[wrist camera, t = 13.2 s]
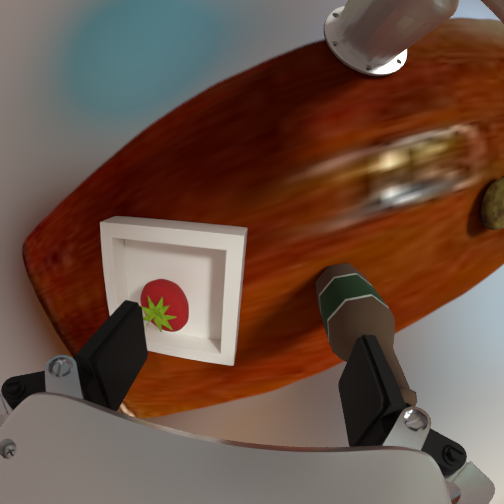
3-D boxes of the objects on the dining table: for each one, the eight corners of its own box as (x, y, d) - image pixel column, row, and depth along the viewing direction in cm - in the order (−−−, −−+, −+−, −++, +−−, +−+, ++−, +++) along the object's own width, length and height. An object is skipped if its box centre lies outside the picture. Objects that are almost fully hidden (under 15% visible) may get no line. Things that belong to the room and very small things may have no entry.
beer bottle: (306, 304, 40) (334, 442, 17) (321, 255, 37) (380, 375, 14) (353, 312, 40) (409, 437, 17) (370, 266, 37) (458, 375, 14)
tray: (116, 215, 37) (100, 222, 33) (247, 227, 37) (244, 235, 32) (125, 328, 44) (114, 342, 39) (236, 348, 43) (233, 365, 39)
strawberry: (176, 316, 41) (154, 355, 31) (148, 276, 39) (117, 308, 29) (207, 300, 39) (190, 340, 30) (177, 258, 38) (150, 288, 28)
